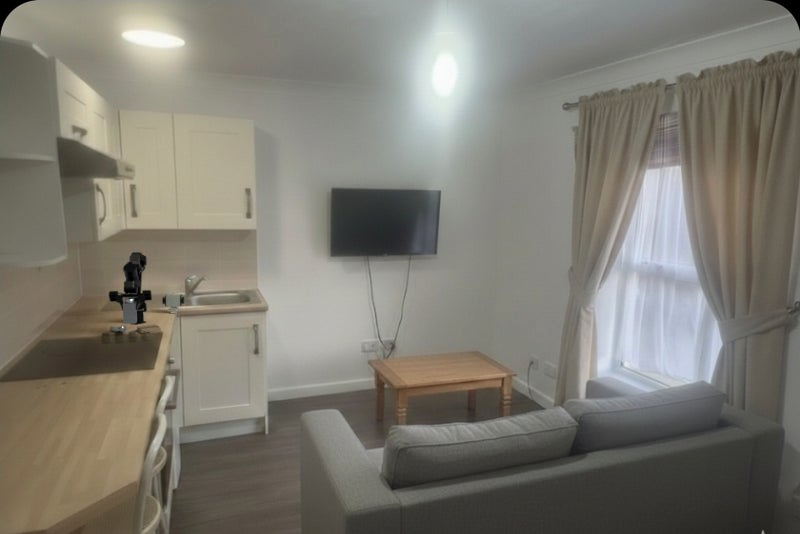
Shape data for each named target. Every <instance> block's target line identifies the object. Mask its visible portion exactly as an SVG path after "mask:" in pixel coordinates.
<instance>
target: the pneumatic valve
mask: <svg viewBox="0 0 800 534" xmlns="http://www.w3.org/2000/svg"><path fill="white" fill-rule="evenodd" d="M185 298H186V297H185V296H183V294H175V293H172V294H165V295H164V296H163V297H162V300H161V301H162V305H164V307H170V308H168V313H170V312H173V313H175V315H176V314H178V313H179V312H180V311H179V310H180V308H178V307H182V306H183V305H184V304H185V302H186V301H185V300H186V299H185Z"/></svg>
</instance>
